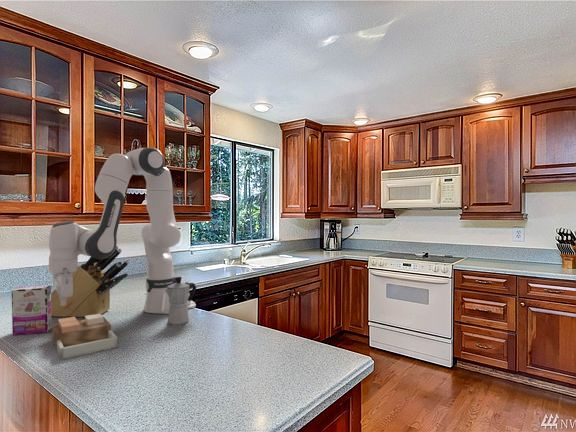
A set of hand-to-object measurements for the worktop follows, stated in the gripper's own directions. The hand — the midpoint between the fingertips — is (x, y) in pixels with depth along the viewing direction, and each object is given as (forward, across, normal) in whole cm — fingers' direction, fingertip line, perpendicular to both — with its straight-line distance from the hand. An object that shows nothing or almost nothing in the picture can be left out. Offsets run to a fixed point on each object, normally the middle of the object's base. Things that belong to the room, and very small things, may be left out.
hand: (62, 304), depth 130 cm
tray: (+10, -20, -5) cm, 23 cm away
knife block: (+10, +22, -10) cm, 27 cm away
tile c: (+6, -13, -1) cm, 14 cm away
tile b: (+6, -7, -1) cm, 9 cm away
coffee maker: (+10, -11, -40) cm, 42 cm away
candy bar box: (+11, +9, +8) cm, 16 cm away
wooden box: (+10, -10, -5) cm, 15 cm away
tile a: (+5, -9, -9) cm, 14 cm away
